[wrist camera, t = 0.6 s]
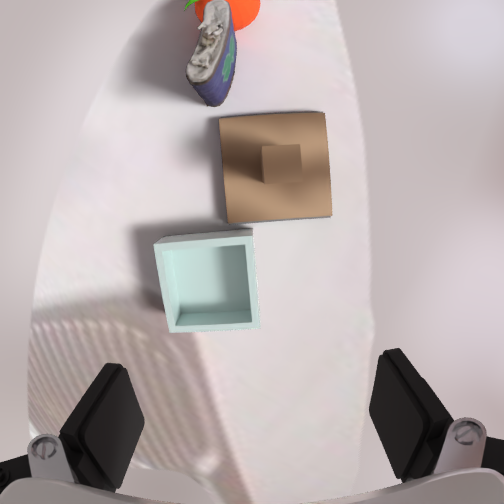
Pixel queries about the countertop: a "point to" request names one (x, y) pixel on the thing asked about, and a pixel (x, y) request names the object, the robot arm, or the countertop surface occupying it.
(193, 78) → the flask
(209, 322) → the dish
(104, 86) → the countertop surface
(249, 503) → the countertop surface
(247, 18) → the clementine
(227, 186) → the lid
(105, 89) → the countertop surface
